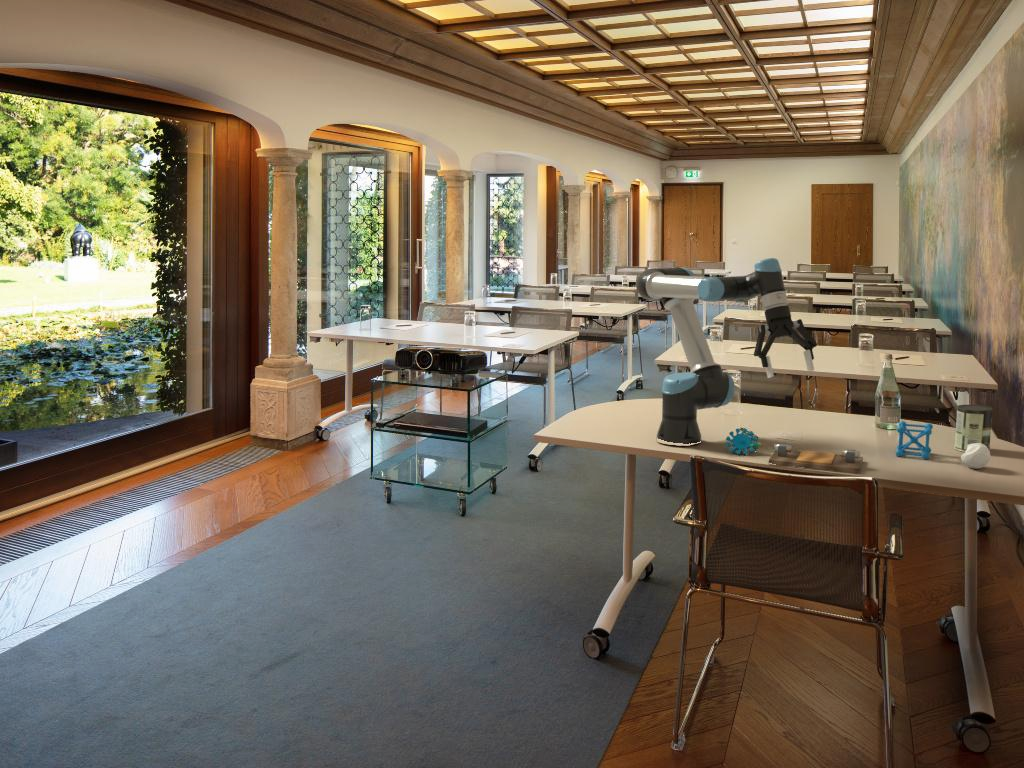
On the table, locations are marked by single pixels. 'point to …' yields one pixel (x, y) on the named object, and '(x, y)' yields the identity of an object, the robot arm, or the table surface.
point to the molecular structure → (914, 439)
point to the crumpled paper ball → (976, 456)
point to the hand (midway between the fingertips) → (791, 374)
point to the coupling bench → (817, 461)
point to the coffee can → (973, 426)
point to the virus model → (742, 441)
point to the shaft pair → (847, 453)
